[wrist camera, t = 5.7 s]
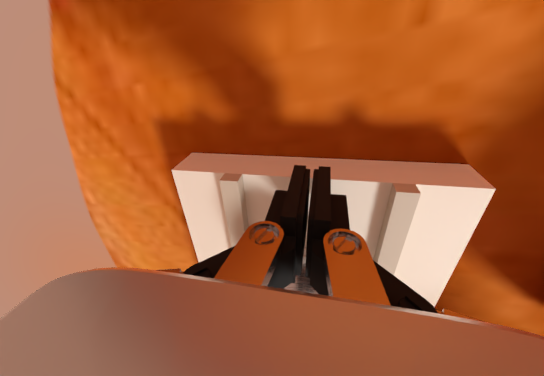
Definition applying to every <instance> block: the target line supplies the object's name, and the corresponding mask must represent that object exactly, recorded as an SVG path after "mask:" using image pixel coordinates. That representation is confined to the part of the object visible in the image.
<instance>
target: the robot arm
mask: <svg viewBox="0 0 544 376" xmlns="http://www.w3.org/2000/svg"><path fill="white" fill-rule="evenodd" d="M309 186H310V169H306V166H305V165H294V168H293V172H292V175H291V179H290V183H289V186H288V190H287V191H285V190H276V191H275V193H274V196H273V199H272V201H271V204H270V207H269V210H268V213H267V216H266V218H265V221H260V222H257V223H254V224H252V225H250V226H249V227H248V228H247V229H246V231H245V232H244V234H243V235H242V237H241V238H240V240H239V241H238V243H237V244H236V245H235V246H233V247H231V248H229V249H227V250H225V251H223V252H220V253H218V254H216V255H214V256H212V257H210V258H208V259H206V260H203V261H201V262H199V263H197V264H195V265H193V266H191V267H190V268H188V269H187V270H186V271H185V272H182V271H181V269H167V270H148V269H138V268H99V269H92V270H87V271H81V272H76V273H73V274H69V275H66V276H63V277H60V278H57V279H55V280H53V281H51V282H49V283H48V284H46V285H44V286H43V287H41V288H40V289H38V290H37V291H35V292H34V293H33V294H31V295H30V296H28V297H27V298H26V299H24V300H23V301H22V302H21V303H19V304H18V305H17V306H15V307H14V308H13V309H12V310H11V311H9V312H8V313H6V314H5V315H4V316H3V317H2V318H0V376H544V337H543V336H540V335H537V334H534V333H530V332H526V331H522V330H519V329H515V328H511V327H507V326H502V325H497V324H492V323H487V322H484V321H481V320H478V319H475V318H472V317H469V316H466V315H463V314H460V313H457V312H454V311H451V310H448V309H445V308H443V310H442V311H439V310H436V309H435V308H434V306H433V305H432V304H431V303H429V302H428V301H427V300H426V299H425V298H423V297H422V296H421V295H419V294H418V293H417V292H415V291H414V290H413V289H411V288H410V287H409V286H407V285H406V284H405V283H403V282H402V281H401V280H399V279H398V278H397V277H395V276H394V275H393V274H391V273H390V272H388V271H387V270H386V269H384V268H383V267H382V266H380V265H379V264H378V263H376V262H375V261H374V260H373V259H372V256H371V254H370V251H369V249H368V246H367V244H366V242H365V240H364V238H363V237H362V236H360V235H359V234H358V233H356V232H354V231H351V230H350V225H349V216H348V206H347V197H346V195H338V194H331V167H324V166H319V169H314V172H313V181H312V189H311V198H310V206H309ZM308 206H309V214H308ZM307 221H308V227H307ZM306 230H307V247H306V267H305V277H310V286H311V287H312V288H313V289H314V290H315V291H316V292H317V293H318V294H313V293H307V292H300V291H294V290H287V289H285V287H286V286H288V285H289V284H291V283H295V279H296V275H297V276H301V271H302V263H303V255H304V246H305V238H306Z"/></svg>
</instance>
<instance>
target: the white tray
mask: <svg viewBox="0 0 544 376" xmlns="http://www.w3.org/2000/svg"><path fill="white" fill-rule="evenodd" d="M294 165H305V166H306V169H310V186H309V206H310V198H311V189H312V181H313V172H314V169H319V166H324V167H331V194H338V195H346V197H347V206H348V216H349V225H350V230H351V231H354V232H356V233H358V234H359V235H360V236H362V237H363V238H364V240H365V242H366V244H367V246H368V249H369V251H370V254H371V256H372V259H373V260H374V261H375V262H376V263H378V264H379V265H380V266H382V267H383V268H384V269H386V270H387V271H388V272H390V273H391V274H393V275H394V276H395V277H397V278H398V279H399V280H401V281H402V282H403V283H405V284H406V285H407V286H409V287H410V288H411V289H413V290H414V291H415V292H417V293H418V294H419V295H421V296H422V297H423V298H425V299H426V300H427V301H428V302H429V303H431V304H432V305H433V306H434V307H435V305H436V303H437V301H438V299H439V298H440V296H441V294H442V292H443V290H444V288H445V286H446V284H447V282H448V280H449V278H450V276H451V275H452V273H453V271H454V269H455V267H456V265H457V263H458V261H459V259H460V257H461V255H462V253H463V251H464V250H465V248H466V246H467V244H468V242H469V240H470V238H471V236H472V234H473V232H474V230H475V228H476V226H477V225H478V223H479V221H480V219H481V217H482V215H483V213H484V211H485V209H486V207H487V205H488V203H489V202H490V200H491V198H492V196H493V194H494V192H495V190H496V189H495V188H494V187H493V186H492V185H491V184H490V183H489V182H488V181H487V180H486V179H484V178H483V177H482V176H481V175H480V174H479V173H478V172H477V171H476V170H475V169H473V168H472V167H471V166H470V165H469V164H450V163H426V162H403V161H379V160H356V159H332V158H308V157H285V156H261V155H237V154H214V153H191V154H190V155H189V156H187V157H186V158H185V159H184V160H183V161H181V162H180V163H179V164H178V165H177V166H175V167H174V168H173V169H172V170H171V171H172V174H173V177H174V181H175V184H176V187H177V191H178V194H179V198H180V201H181V204H182V208H183V211H184V214H185V218H186V221H187V225H188V228H189V231H190V235H191V238H192V241H193V245H194V248H195V252H196V255H197V258H198V262H201V261H203V260H206V259H208V258H210V257H212V256H214V255H216V254H218V253H220V252H223V251H225V250H227V249H229V248H231V247H233V246H235V245H236V244H237V243H238V241H239V240H240V238H241V237H242V235H243V234H244V232H245V231H246V229H247V228H248V227H249V226H250V225H252V224H254V223H257V222H260V221H265V218H266V216H267V213H268V210H269V207H270V204H271V201H272V199H273V196H274V193H275V191H276V190H285V191H287V190H288V186H289V183H290V179H291V175H292V172H293V168H294ZM309 206H308V214H309ZM307 227H308V221H307ZM306 247H307V230H306V238H305V246H304V249H306Z"/></svg>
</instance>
